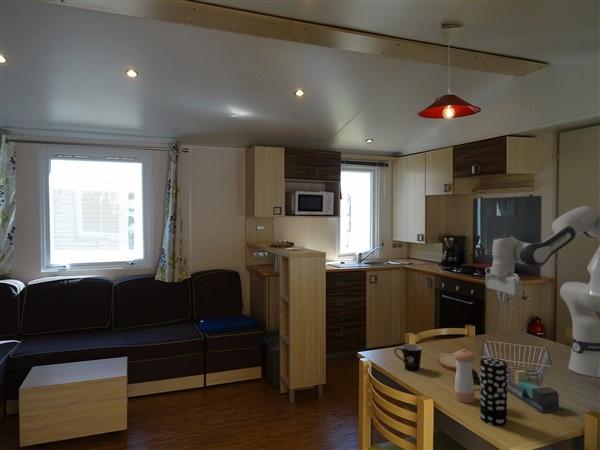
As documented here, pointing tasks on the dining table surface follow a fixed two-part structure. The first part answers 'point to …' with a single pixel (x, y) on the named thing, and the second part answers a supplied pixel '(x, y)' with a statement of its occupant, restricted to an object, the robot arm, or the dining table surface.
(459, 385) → the pepper shaker
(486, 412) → the white-spotted black cylinder
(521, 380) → the teal yellow slider block
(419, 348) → the coffee mug
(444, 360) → the bread slice
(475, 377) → the pottery mug
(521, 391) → the guide
